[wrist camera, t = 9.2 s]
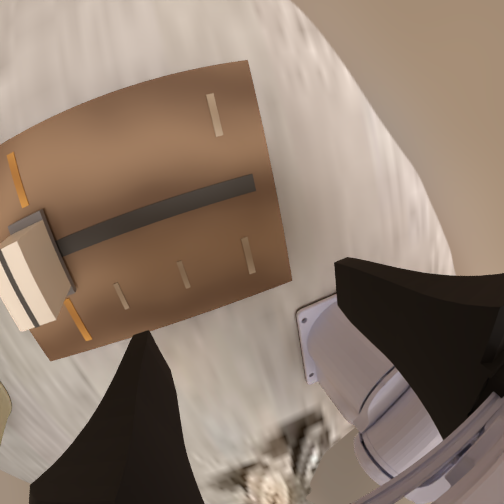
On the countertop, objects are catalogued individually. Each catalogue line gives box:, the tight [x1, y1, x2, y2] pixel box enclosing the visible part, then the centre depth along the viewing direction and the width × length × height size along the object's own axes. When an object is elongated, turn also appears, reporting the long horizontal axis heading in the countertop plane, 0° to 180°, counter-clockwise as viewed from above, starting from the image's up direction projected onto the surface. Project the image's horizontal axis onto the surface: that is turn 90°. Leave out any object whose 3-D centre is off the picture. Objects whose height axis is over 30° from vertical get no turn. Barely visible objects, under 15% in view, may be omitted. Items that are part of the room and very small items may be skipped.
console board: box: [0, 60, 292, 361], centre depth 16 cm, size 14×18×2 cm
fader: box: [0, 209, 77, 332], centre depth 12 cm, size 5×2×4 cm, turn 12°
